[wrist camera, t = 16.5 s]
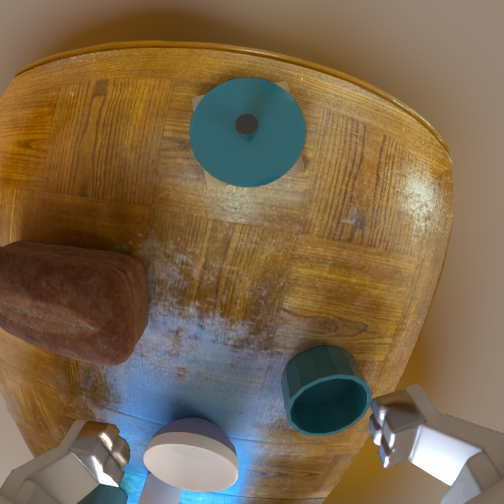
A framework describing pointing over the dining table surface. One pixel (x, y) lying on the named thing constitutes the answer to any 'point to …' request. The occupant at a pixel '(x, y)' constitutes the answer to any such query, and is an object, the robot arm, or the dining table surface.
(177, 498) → the alcohol
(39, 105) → the dining table surface
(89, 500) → the flower pot
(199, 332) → the dining table surface
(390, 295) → the dining table surface
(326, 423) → the pot
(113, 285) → the bread
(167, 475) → the bowl
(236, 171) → the pot lid
